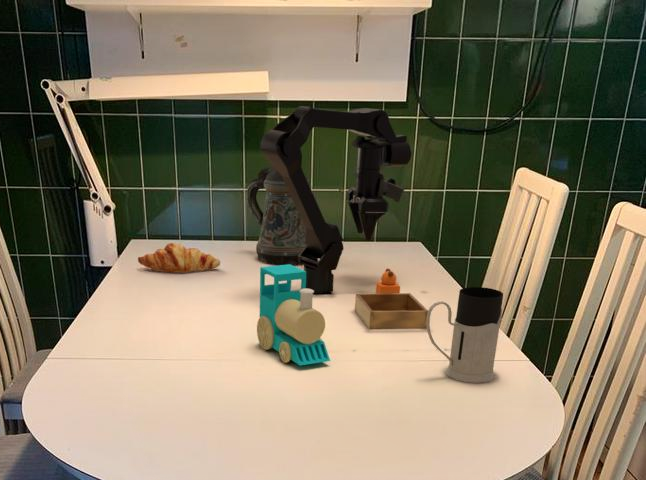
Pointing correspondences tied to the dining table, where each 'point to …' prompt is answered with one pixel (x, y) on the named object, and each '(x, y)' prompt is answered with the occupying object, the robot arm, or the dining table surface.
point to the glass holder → (473, 334)
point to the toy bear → (387, 283)
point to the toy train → (290, 317)
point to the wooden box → (391, 311)
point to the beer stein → (276, 220)
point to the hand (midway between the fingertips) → (364, 237)
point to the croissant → (178, 259)
